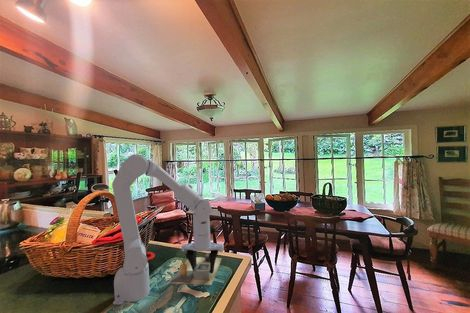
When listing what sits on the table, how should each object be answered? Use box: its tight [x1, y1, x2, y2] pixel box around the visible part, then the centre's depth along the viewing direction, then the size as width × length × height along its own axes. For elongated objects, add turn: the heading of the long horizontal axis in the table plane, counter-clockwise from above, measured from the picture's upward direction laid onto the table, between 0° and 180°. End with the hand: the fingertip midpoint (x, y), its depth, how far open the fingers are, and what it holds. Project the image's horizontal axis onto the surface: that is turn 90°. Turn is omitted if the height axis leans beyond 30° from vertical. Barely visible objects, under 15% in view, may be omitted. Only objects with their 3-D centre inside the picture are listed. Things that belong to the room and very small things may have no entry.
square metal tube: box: [193, 263, 212, 280], centre depth 77 cm, size 6×6×3 cm
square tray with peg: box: [170, 262, 193, 283], centre depth 76 cm, size 6×6×5 cm
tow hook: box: [146, 251, 156, 262], centre depth 93 cm, size 8×13×9 cm
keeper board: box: [170, 252, 223, 286], centre depth 81 cm, size 14×18×3 cm
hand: (203, 271), depth 77 cm, fingers closed on square metal tube, 6 cm apart
